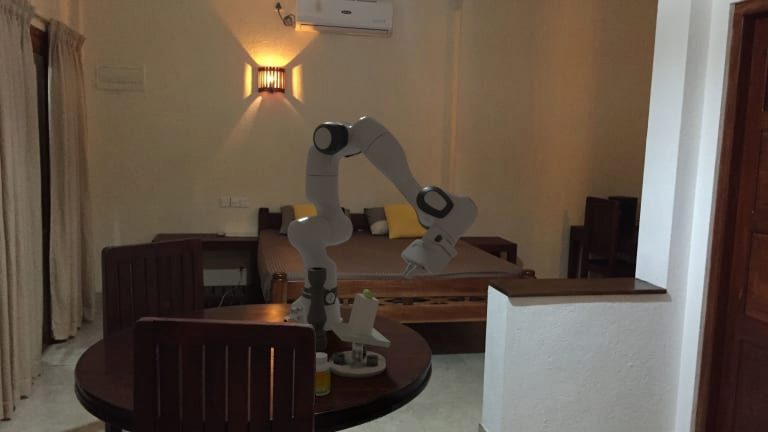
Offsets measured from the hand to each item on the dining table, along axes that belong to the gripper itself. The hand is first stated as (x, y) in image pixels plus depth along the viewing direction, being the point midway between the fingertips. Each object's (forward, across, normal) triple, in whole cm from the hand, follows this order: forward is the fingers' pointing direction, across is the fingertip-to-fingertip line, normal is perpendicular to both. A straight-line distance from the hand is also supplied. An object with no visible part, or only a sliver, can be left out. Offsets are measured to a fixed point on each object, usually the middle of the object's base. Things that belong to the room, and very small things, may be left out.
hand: (405, 277), depth 162 cm
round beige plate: (+28, 0, +8) cm, 29 cm away
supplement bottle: (+38, +13, -3) cm, 41 cm away
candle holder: (+33, -19, +3) cm, 38 cm away
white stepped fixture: (+22, 0, +1) cm, 22 cm away
